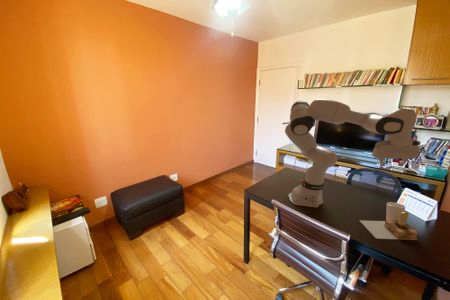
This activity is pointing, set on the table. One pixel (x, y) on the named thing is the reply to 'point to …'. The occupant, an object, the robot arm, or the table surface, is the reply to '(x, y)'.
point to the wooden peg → (402, 220)
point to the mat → (379, 230)
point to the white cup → (394, 211)
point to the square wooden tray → (400, 230)
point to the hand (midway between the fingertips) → (391, 165)
